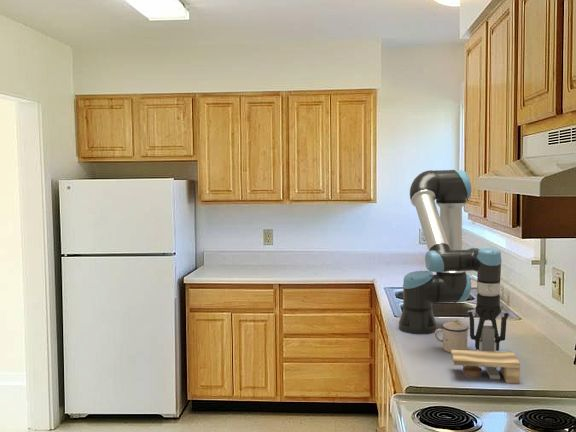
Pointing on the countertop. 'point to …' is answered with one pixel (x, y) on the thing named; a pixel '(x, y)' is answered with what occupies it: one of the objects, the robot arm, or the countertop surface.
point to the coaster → (472, 371)
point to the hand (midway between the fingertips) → (486, 358)
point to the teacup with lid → (454, 335)
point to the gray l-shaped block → (489, 348)
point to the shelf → (490, 362)
